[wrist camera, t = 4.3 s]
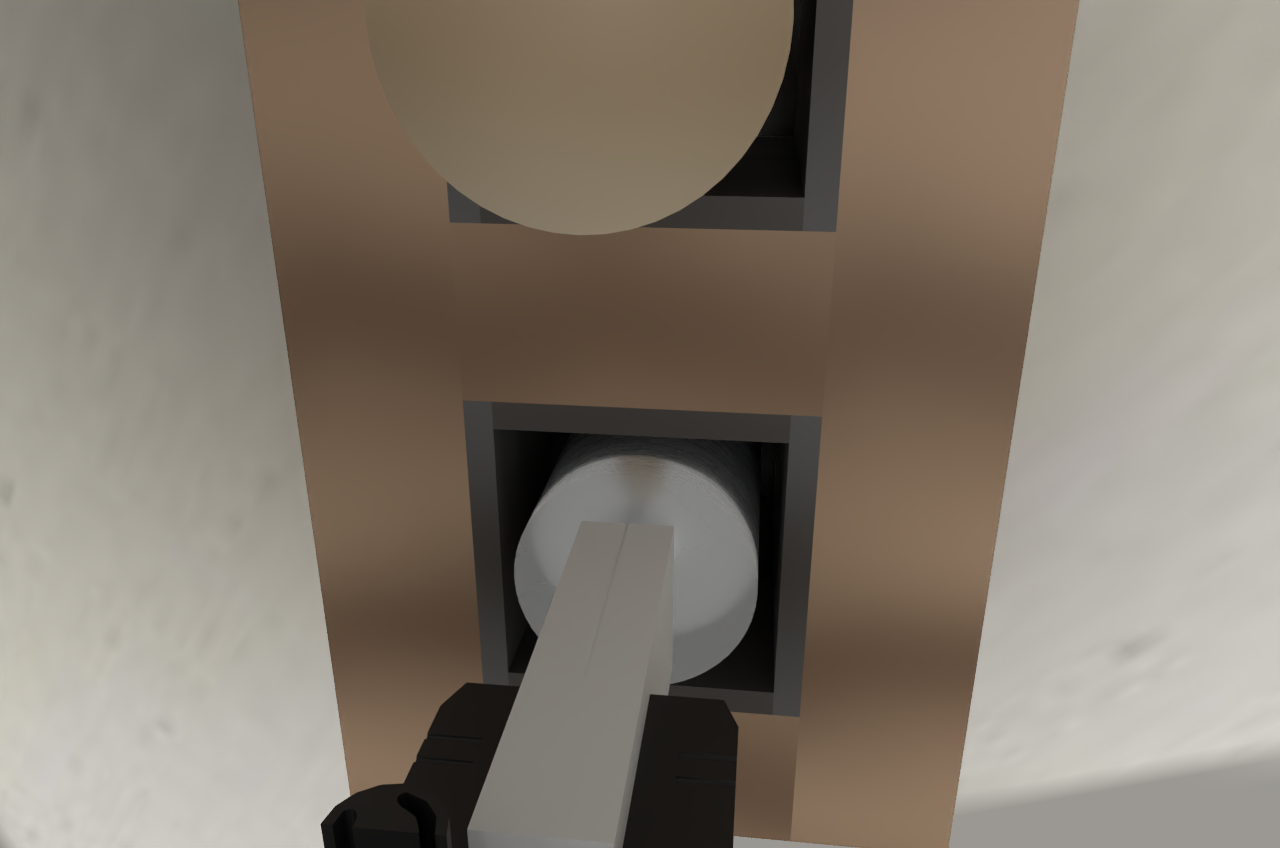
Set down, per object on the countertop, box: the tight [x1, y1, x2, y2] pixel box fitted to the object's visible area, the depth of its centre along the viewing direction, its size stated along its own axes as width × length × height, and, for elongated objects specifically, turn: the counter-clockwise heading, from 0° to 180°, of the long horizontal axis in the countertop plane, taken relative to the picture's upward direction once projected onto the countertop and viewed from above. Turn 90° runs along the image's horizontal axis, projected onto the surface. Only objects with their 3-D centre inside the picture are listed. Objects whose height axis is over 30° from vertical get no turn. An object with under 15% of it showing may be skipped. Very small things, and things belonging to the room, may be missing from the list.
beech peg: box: [365, 0, 794, 235], centre depth 13 cm, size 4×4×8 cm
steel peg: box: [514, 433, 762, 684], centre depth 20 cm, size 4×4×8 cm
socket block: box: [238, 0, 1079, 848], centre depth 20 cm, size 21×12×8 cm, turn 0°
